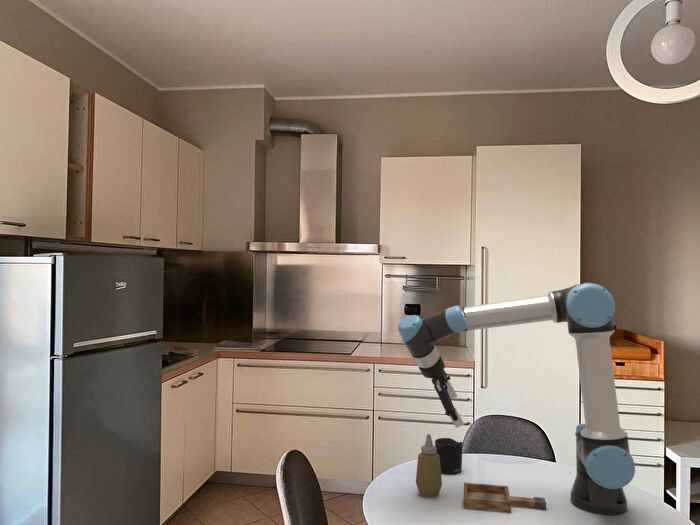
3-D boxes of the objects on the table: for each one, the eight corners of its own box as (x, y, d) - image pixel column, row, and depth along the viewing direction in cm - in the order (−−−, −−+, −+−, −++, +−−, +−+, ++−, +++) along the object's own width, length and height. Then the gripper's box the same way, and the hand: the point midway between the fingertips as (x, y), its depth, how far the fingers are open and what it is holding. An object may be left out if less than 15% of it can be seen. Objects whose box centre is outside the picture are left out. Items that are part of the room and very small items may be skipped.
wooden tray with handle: (542, 499, 162) (542, 488, 162) (548, 516, 149) (548, 505, 149) (464, 492, 167) (464, 482, 167) (463, 508, 154) (463, 497, 154)
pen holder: (436, 474, 183) (436, 444, 183) (434, 466, 192) (434, 437, 193) (464, 475, 182) (464, 445, 183) (460, 467, 191) (460, 438, 192)
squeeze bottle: (412, 490, 168) (413, 431, 169) (438, 489, 169) (438, 431, 170) (419, 500, 160) (419, 438, 161) (445, 499, 161) (445, 438, 162)
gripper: (414, 343, 177) (440, 391, 184) (421, 390, 154) (451, 442, 161) (435, 334, 175) (461, 382, 182) (445, 380, 152) (474, 434, 160)
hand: (456, 411), depth 172 cm, fingers open, 13 cm apart
